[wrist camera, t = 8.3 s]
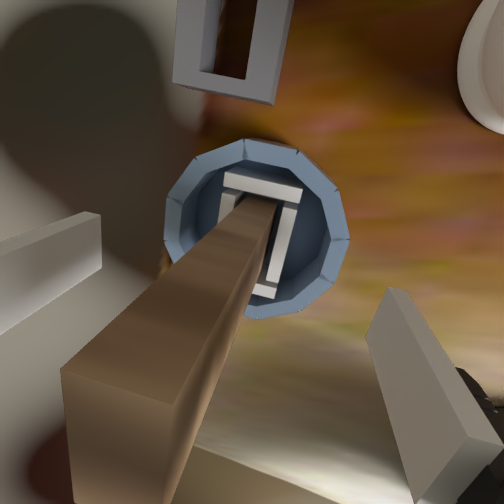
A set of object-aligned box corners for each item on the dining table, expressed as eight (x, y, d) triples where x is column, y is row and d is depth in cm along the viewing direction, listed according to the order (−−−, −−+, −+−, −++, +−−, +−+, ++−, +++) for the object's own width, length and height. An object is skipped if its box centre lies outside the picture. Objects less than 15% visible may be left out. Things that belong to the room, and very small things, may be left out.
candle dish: (314, 303, 23) (316, 335, 19) (182, 268, 24) (159, 293, 20) (362, 160, 18) (376, 166, 15) (196, 124, 19) (171, 123, 16)
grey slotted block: (273, 105, 18) (269, 102, 16) (188, 88, 19) (171, 82, 16) (302, -41, 15) (302, -71, 13) (201, -57, 16) (183, -89, 13)
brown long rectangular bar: (266, 254, 21) (158, 533, 6) (240, 247, 21) (74, 502, 6) (279, 200, 19) (172, 405, 5) (250, 193, 19) (59, 368, 5)
